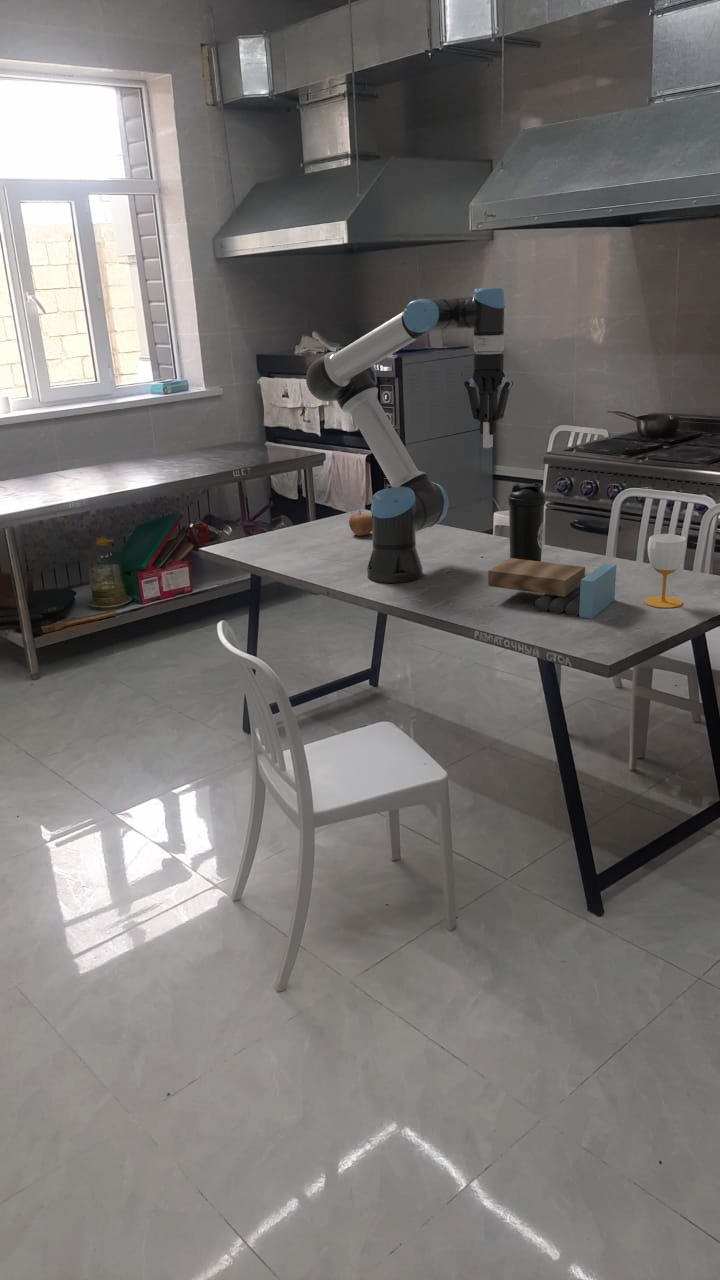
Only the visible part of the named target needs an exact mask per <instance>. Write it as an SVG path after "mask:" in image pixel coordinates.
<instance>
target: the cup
mask: <svg viewBox="0 0 720 1280" xmlns="http://www.w3.org/2000/svg"><path fill="white" fill-rule="evenodd" d="M686 552H687V538H686V537H684V536H682V535H679V534H673V533H672V534H670V533H661V534H653V535H650V536H649V538H648V542H647V555H648V561H649V563H650V565H651V568H653V569H654V571H656V572H657V573H659V574H661V575H662V588H661V595H655V596H649V597H646V598H644V600H643V603H644V604H645V605H646V606H647V607H648V606H649V607H652V608H657V609H675V608H679V607H681V606H682V605H683V601H682V600H681V599H678V598H676V597H673V596H666V590H667V589H666V588H667V577H668V575H670V574H673V573H675V572H676V571H678V569H679V568H680V567H681V565H682V564H683V561H684V559H685V556H686Z"/></svg>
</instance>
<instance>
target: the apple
mask: <svg viewBox="0 0 720 1280" xmlns="http://www.w3.org/2000/svg"><path fill="white" fill-rule="evenodd" d="M358 512H359V513H355V514H352V515H351V516H350V518H349V521H348V525H349V527H350V531H351V532H352V533H353V534H354V535H356V536H358V537H362V536H367V535H369V534H371V533H372V514H369V513H367V512H366V513H365V512H363V513H362V512H361V510H359V511H358Z"/></svg>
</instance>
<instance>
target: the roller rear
mask: <svg viewBox="0 0 720 1280" xmlns="http://www.w3.org/2000/svg"><path fill="white" fill-rule="evenodd" d="M557 597H558V596H556V595H549V594H542V595H541V596H540V597H538V598H537V599H536V600H535V602H534V603H535V604H534V607H535V609H536V610H537V612H543V613H544V612H545V613H546V612H547V611H550V609H549V604H550V602H551V601H553V600H554V599H556V598H557Z"/></svg>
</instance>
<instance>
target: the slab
mask: <svg viewBox="0 0 720 1280" xmlns="http://www.w3.org/2000/svg"><path fill="white" fill-rule="evenodd" d="M584 577H586V566H581V565H580V566H579V565H573V564H572V565H571V564H562V563H554V562H547V561H541V562H539V561H531V560H523V559H514V558H510V557H509V558H508V559H506V560H504V561H502V562H501V563H499V564H498V565H495V566H493V567H492V568H490V569H488V571H487V586H488V587H493V588H499V589H505V590H506V589H507V590H515V591H521V592H529V593H536V594H542V595H545V594H549V595H556V596H563V597H565V596H566V595H568V594H569V593H571V592H572V591H573V590H575V589H576V588H578V587H579V586H580V584H581V579H583V578H584Z"/></svg>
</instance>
